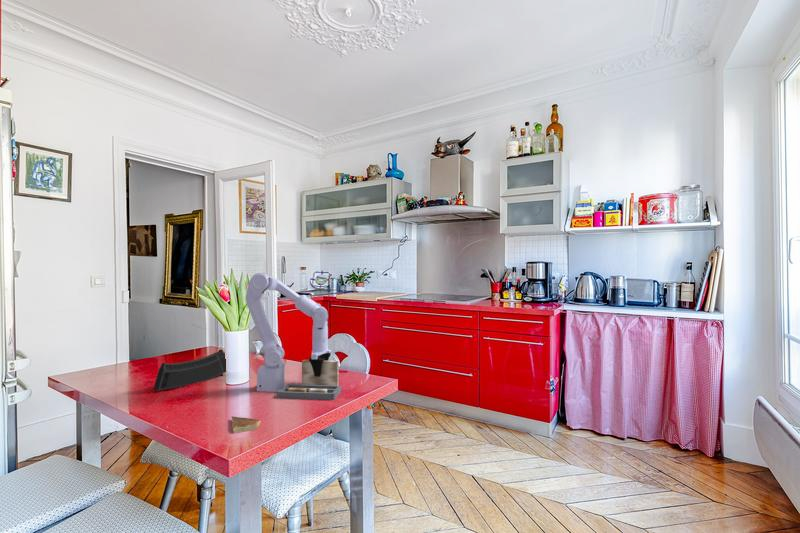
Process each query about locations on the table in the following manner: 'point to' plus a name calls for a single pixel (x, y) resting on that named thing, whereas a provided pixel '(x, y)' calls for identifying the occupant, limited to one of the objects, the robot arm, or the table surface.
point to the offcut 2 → (318, 390)
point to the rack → (330, 395)
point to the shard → (244, 424)
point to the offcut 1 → (297, 389)
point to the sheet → (327, 373)
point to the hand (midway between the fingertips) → (320, 374)
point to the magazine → (190, 371)
